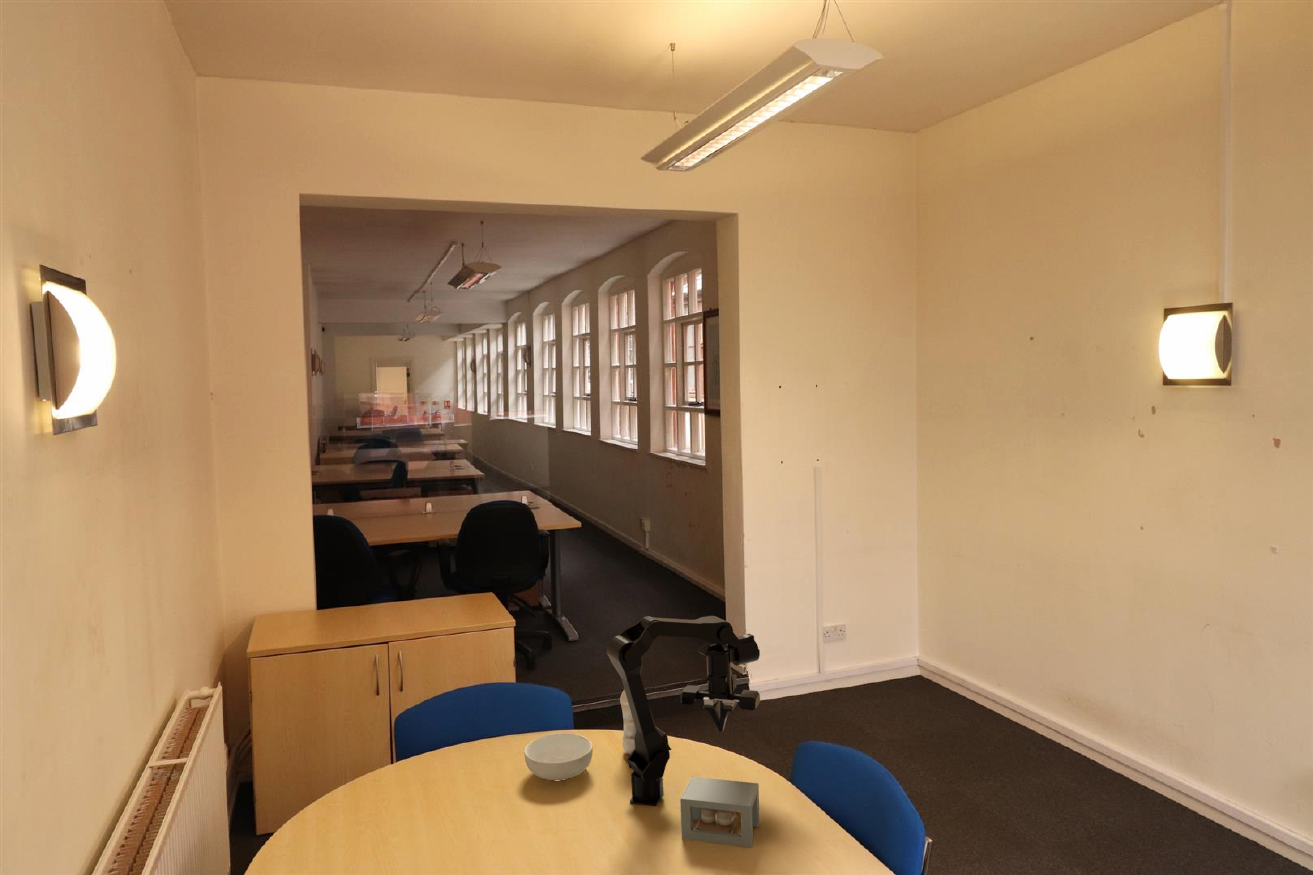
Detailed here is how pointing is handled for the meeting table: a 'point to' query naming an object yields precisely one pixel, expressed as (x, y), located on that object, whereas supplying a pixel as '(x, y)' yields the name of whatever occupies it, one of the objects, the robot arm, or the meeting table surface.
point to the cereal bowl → (558, 755)
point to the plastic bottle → (627, 726)
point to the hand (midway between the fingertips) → (721, 731)
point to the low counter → (720, 798)
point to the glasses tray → (716, 827)
